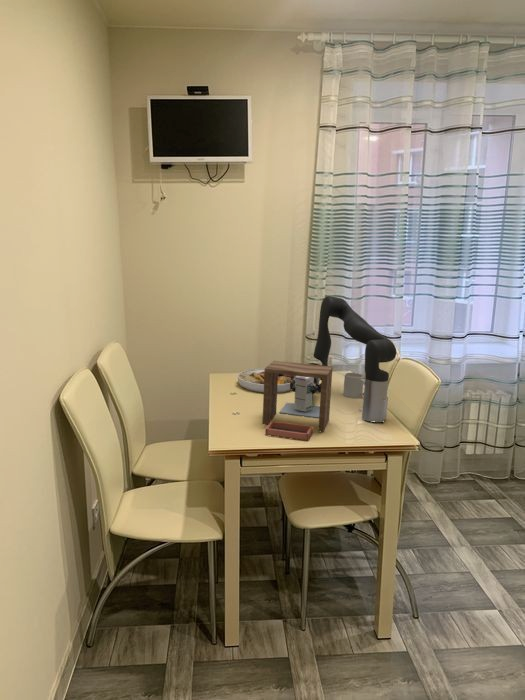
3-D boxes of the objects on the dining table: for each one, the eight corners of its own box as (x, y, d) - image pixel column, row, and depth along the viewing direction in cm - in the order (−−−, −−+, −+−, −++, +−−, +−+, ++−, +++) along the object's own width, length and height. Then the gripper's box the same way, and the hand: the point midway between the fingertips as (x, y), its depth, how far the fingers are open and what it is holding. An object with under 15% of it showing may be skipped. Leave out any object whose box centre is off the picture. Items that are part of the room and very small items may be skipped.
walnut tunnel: (271, 413, 216) (273, 360, 211) (328, 420, 210) (332, 366, 205) (262, 424, 203) (264, 368, 198) (323, 432, 197) (327, 375, 192)
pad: (286, 403, 229) (286, 402, 229) (327, 408, 225) (327, 407, 225) (279, 413, 216) (279, 412, 216) (322, 418, 211) (322, 417, 211)
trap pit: (271, 427, 200) (271, 420, 200) (312, 432, 196) (312, 426, 196) (265, 435, 192) (265, 428, 191) (307, 441, 188) (308, 434, 187)
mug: (341, 392, 249) (342, 372, 247) (360, 392, 250) (362, 372, 248) (347, 399, 239) (348, 378, 237) (367, 399, 240) (369, 378, 238)
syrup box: (305, 412, 215) (307, 378, 212) (293, 408, 219) (295, 375, 216) (312, 408, 220) (314, 375, 217) (301, 405, 223) (302, 373, 220)
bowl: (270, 399, 236) (270, 382, 234) (224, 385, 256) (225, 369, 254) (310, 387, 258) (311, 371, 256) (265, 375, 277) (266, 360, 276)
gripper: (295, 370, 232) (286, 380, 216) (327, 374, 228) (320, 384, 213) (294, 386, 234) (286, 397, 218) (326, 390, 230) (319, 401, 214)
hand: (303, 390), depth 216 cm, fingers closed on syrup box, 7 cm apart
